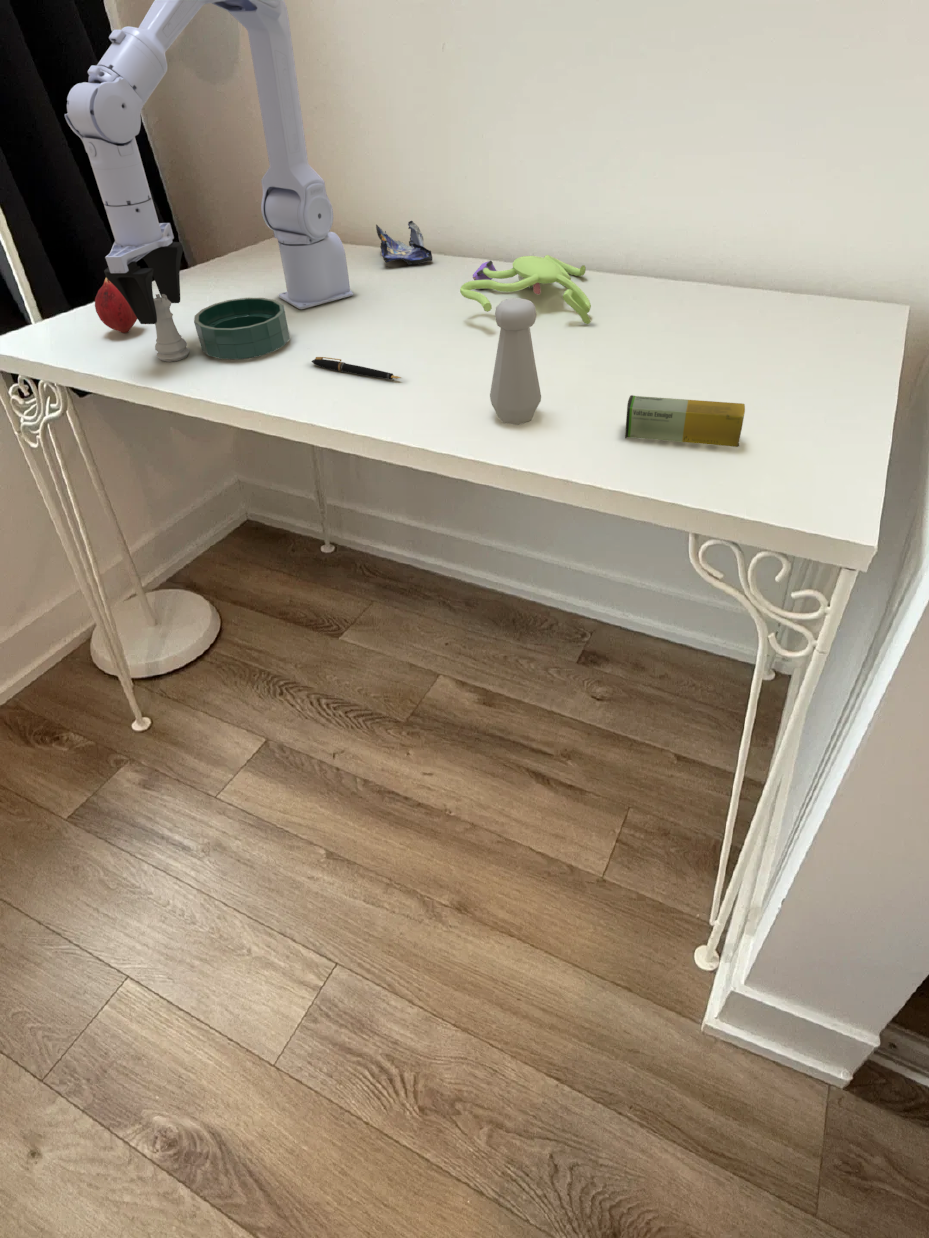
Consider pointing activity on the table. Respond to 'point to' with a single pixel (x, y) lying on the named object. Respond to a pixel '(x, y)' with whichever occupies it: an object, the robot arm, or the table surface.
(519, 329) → the salt shaker
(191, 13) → the robot arm
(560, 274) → the figurine
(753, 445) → the table surface
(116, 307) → the onion
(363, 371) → the fountain pen
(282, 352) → the table surface
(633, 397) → the medication box
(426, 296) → the table surface
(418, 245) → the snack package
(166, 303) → the rook chess piece
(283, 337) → the green faceted bowl
